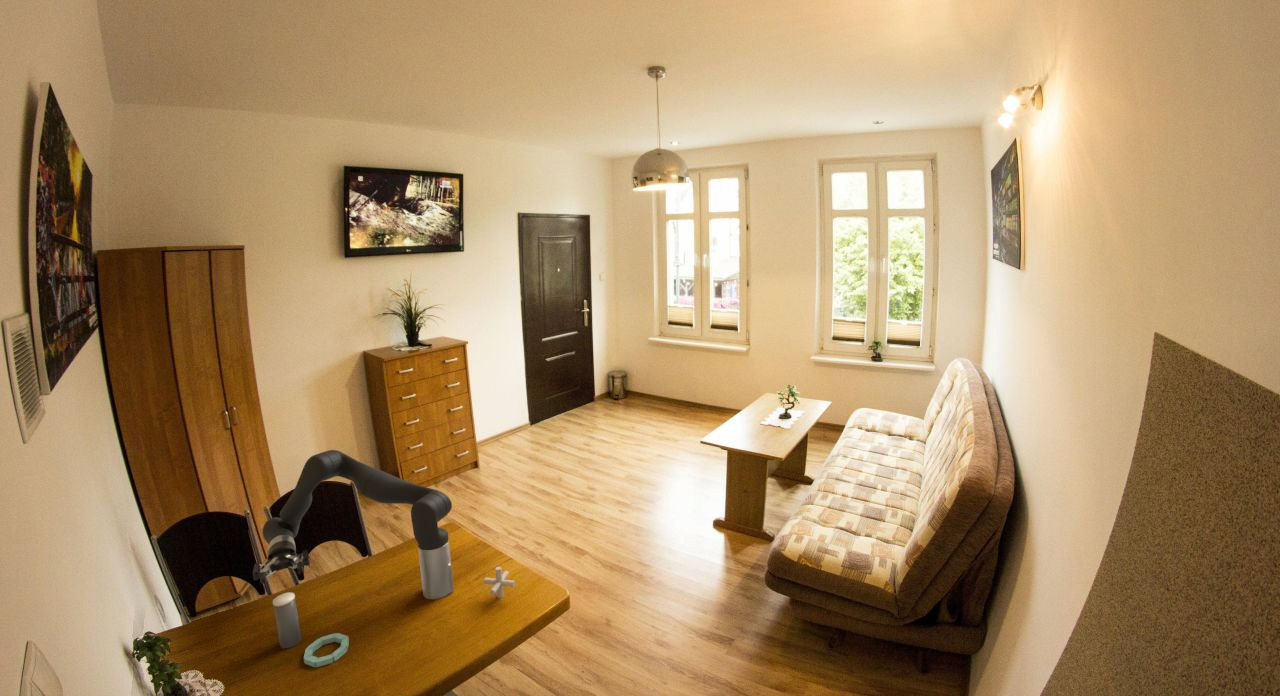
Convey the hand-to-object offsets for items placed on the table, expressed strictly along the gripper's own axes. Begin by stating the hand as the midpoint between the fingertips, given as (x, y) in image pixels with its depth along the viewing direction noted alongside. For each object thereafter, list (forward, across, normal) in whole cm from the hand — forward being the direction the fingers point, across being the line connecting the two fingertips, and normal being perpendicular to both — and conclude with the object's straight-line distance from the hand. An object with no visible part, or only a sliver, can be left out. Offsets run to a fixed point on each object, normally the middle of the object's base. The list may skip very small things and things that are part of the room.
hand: (282, 576), depth 156 cm
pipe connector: (+28, +56, +14) cm, 64 cm away
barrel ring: (+22, +9, +14) cm, 28 cm away
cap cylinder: (+12, 0, +14) cm, 19 cm away
